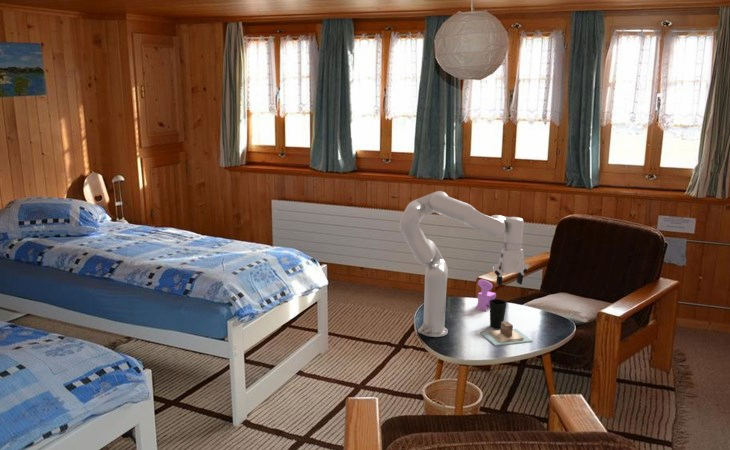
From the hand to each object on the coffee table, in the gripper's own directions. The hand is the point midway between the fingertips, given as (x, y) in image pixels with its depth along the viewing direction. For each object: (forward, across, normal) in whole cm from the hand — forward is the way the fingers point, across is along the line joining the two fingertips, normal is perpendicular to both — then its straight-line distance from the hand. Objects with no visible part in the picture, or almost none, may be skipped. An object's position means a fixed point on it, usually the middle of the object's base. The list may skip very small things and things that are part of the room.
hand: (509, 284), depth 283 cm
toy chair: (+25, +10, +38) cm, 46 cm away
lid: (+24, 0, 0) cm, 24 cm away
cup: (+25, +3, +13) cm, 28 cm away
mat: (+25, 0, 0) cm, 25 cm away
